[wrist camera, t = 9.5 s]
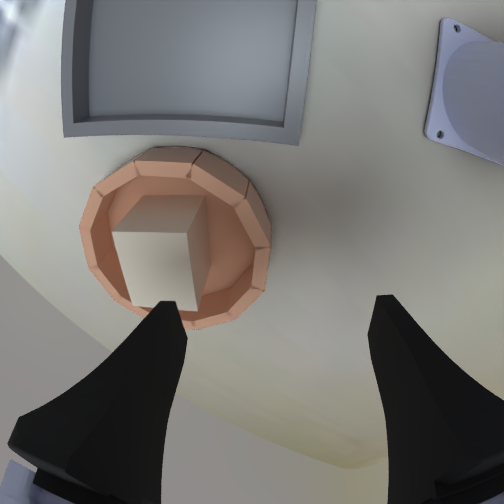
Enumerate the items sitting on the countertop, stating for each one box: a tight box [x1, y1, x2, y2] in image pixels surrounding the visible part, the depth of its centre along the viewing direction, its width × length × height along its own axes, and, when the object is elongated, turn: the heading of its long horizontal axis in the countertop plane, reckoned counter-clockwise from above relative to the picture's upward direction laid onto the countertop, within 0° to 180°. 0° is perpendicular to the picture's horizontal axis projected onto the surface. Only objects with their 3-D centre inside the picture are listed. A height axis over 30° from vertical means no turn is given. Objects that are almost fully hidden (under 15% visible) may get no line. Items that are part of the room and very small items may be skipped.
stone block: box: [112, 195, 211, 311], centre depth 18 cm, size 4×5×4 cm
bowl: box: [79, 146, 271, 330], centre depth 19 cm, size 12×12×3 cm
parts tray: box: [61, 0, 316, 146], centre depth 12 cm, size 13×12×2 cm
